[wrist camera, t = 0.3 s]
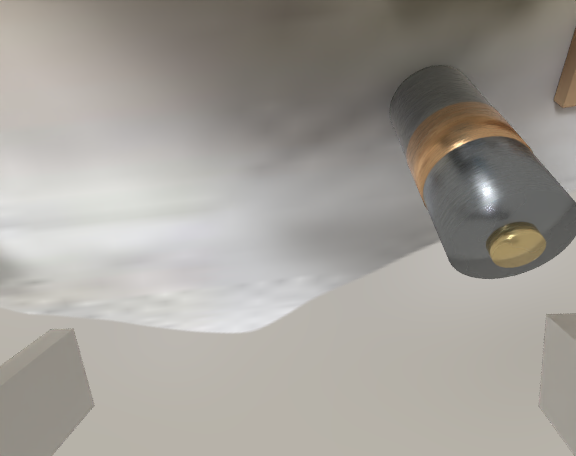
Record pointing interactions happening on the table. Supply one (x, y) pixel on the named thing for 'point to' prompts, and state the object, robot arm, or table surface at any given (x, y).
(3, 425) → the robot arm
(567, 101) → the cradle
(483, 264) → the cell
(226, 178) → the table surface
